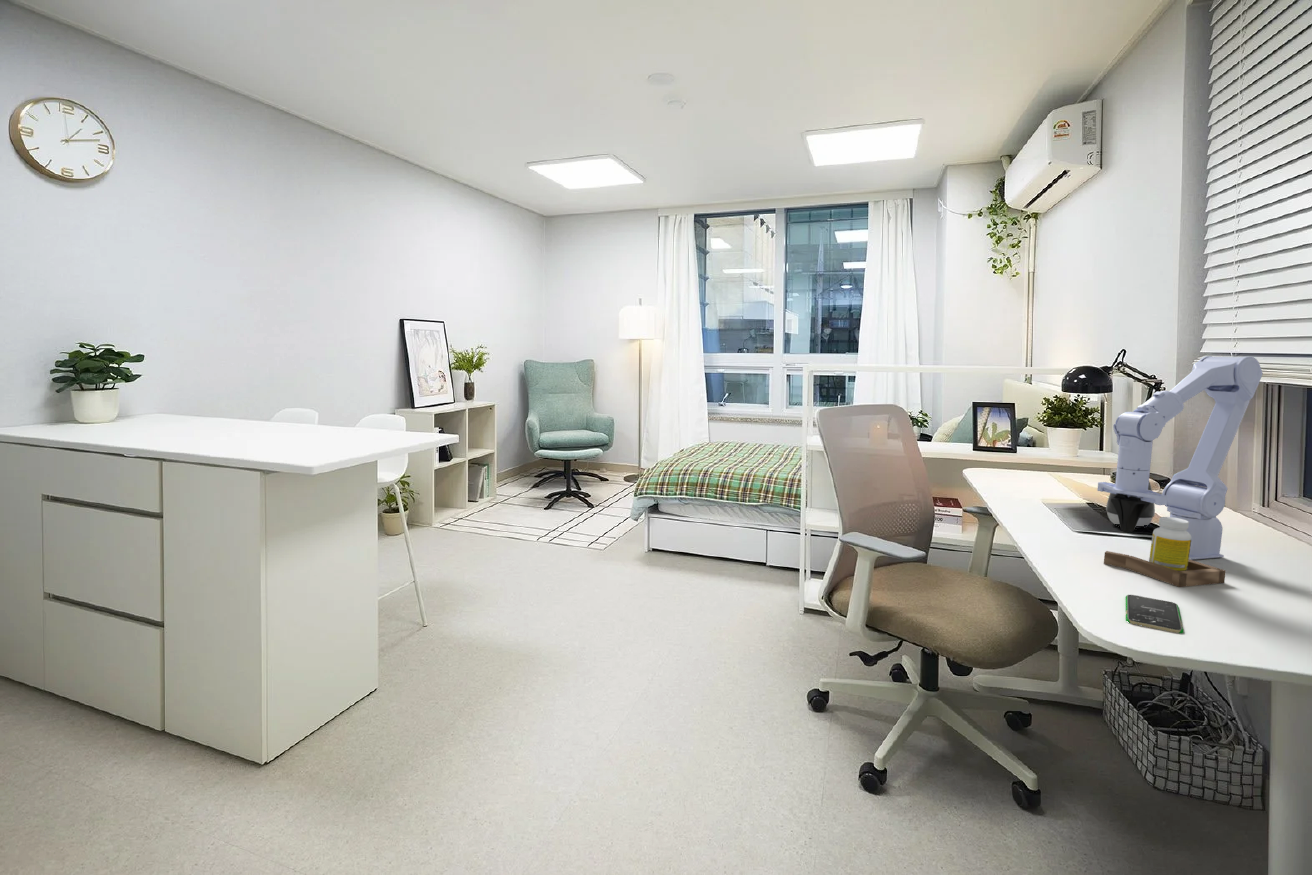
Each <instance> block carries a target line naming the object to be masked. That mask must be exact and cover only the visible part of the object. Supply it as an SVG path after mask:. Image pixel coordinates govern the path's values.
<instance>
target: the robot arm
mask: <svg viewBox="0 0 1312 875" xmlns="http://www.w3.org/2000/svg"><path fill="white" fill-rule="evenodd" d="M1191 369H1192V370H1191V372H1190V373H1188V374H1187V375H1186V376H1185V377H1184V378H1182V379H1181V380H1180V381H1179V383H1177V384H1176V385H1175V386H1174V387H1172V388H1171V389H1170V390H1161V391H1155V392H1154V393H1153V395H1152V396H1151V397H1150V398H1149V399H1148V400H1146V401H1145V402H1144V403H1142V404H1139V405H1138V406H1137V407H1136V408H1135V409H1134V410H1133V411H1125V412H1123V413H1122V414H1120V415H1118V417H1117V418H1116V419H1115V423H1113V424H1112V425H1113V432H1114V434H1115V435H1116V443H1117V445H1118V453H1117V454H1118V455H1117V465H1116V473H1115V481H1116V484H1114V483H1112V482H1108V481H1107V482H1106V481H1103V482H1102V481H1101V482H1097V490H1096V491H1097V492H1101V493H1102V492H1103V493H1108V494H1110V493H1112V494H1116V496H1115V497H1111V502H1112V503H1113V505H1114V507H1115V509H1116V512H1117V515H1118V518H1119V523H1120V530H1121V531H1123V532H1129V533H1130V532H1134V531H1135V530H1136V529H1135V527H1136V524H1137V522H1138V520H1139V518H1140V516H1141V515H1142V513H1143V512H1144V510H1145V509H1146V508H1147V507H1148V506H1149V505H1150V502H1151V503H1154V504H1155V506H1165V507H1167V509H1166V511H1167V512H1168V513H1169V517H1173V518H1179V519H1183V520H1186V521H1188V522H1189V525H1188V529H1186V531H1187V532H1188V533H1189V534H1190V535H1191V546H1190V553H1189V559H1190V560H1193V561H1194V560H1205V559H1206V560H1207V559H1216V558H1224V554H1221V546H1222V536H1223V525H1222V522H1221V521H1220V519H1219V518H1217V516H1219V515H1220V514H1221V513H1222V512H1223V510H1224V508H1225V506H1226V494H1227V491H1229V490H1228V489H1229V488H1228V486H1227V485H1226V484H1225V483H1224V482H1223V480H1221V478H1220V477H1219V475H1220V473H1221V470H1222V468H1223V465H1224V463H1225V461H1226V459H1227V456H1228V453H1229V451H1230V449H1231V446H1232V444H1233V442H1234V440H1235V437H1236V435H1237V433H1238V430H1239V428H1240V426H1241V423H1242V422H1243V419H1244V416H1245V415H1246V411H1247V409H1248V406H1249V404H1250V402H1251V399H1253V398H1254V396H1255V393H1256V391H1257V388H1258V387H1259V385H1260V383H1261V382H1260V381H1261V380H1262V378H1263V375H1264V373H1263V370H1262V367H1261V364H1260V362H1259V361H1258V359H1257V358H1256V357H1255V356H1212V355H1211V356H1210V355H1206V356H1203V357H1201V358H1200V359H1199V360H1198V361H1197V362H1195V363H1193V365H1192V368H1191ZM1202 392H1205V393H1206V394H1207V396H1209V397H1210V398H1213V400H1214V402H1215V403H1214V406H1213V409H1212V410H1211V413H1210V415H1209V418H1208V420H1207V423H1206V424H1205V426H1204V428H1203V432H1202V434H1201V436H1200V439H1199V441H1198V444H1197V446H1196V448H1195V450H1194V453H1193V456H1192V458H1191V460H1190V462H1189V464H1188V467H1187V468H1185V469H1183V470H1180V471H1178V472H1177V473H1174V474H1173V475H1172V477H1171V480H1170V482H1169V483H1167V484H1166V486H1165V487H1164V488H1163V490H1162V493H1159V492H1157V491H1153V490H1152V491H1151V490H1148V484H1149V482H1150V473H1151V463H1152V453H1153V442H1154V440H1156V439H1158V438H1159V437H1160V435H1161V434H1162V431H1163V428H1165V427H1166V425H1167V423H1169V421H1171V420H1172V419H1173V418H1175V417H1177V416H1178V415H1179V414H1180V413H1182V412H1183V410H1184V408H1185V405H1184V403H1186V402H1187V401H1189V400H1190V399H1192V398H1194V397H1195V396H1197V395H1198V394H1200V393H1202ZM1142 497H1143V498H1142Z"/></svg>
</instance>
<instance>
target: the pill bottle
mask: <svg viewBox="0 0 1312 875" xmlns="http://www.w3.org/2000/svg"><path fill="white" fill-rule="evenodd" d="M1158 525H1159V527H1158V526H1157V528H1154V529H1153V531H1152V537H1151V542H1150V544H1151V545H1150V552H1149V560H1148V561H1149V562H1152V563H1155V564H1158V565H1161V566H1164V567H1167V568H1171V569H1174V570H1177V571H1187V567H1188V560H1189V553H1190V546H1191V535H1190V534H1189V533H1188V532H1187V531H1186V529H1188V525H1189V522H1188V521H1186V520H1183V519H1179V518H1173V517H1170V516H1161V517H1159V520H1158Z"/></svg>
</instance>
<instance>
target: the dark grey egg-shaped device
mask: <svg viewBox="0 0 1312 875" xmlns="http://www.w3.org/2000/svg"><path fill="white" fill-rule="evenodd" d="M1113 484H1116V480H1115V481H1114V483H1113ZM1152 488H1153V487H1152V485H1151V482H1150V481H1149V484H1148V490H1151V491H1153V489H1152ZM1115 496H1116V494H1112V493H1109V495H1108V499H1107V502H1106V507H1105V511H1106V513H1107V517H1108V519H1109V521H1110V522H1111V523H1112V524H1114V525H1115V524H1120V523H1119V518H1118V515H1117V512H1116V509H1115V507H1114V505H1113V503H1112V502H1111V497H1115ZM1142 498H1143V497H1142ZM1155 515H1156V504H1155V503H1151V502H1150V505H1149V506H1148V507H1147V508H1146V509H1145V510H1144V512H1143V513H1142V515H1141V516H1140V518H1139V520H1138V522H1137V524H1136V526H1144V525H1147V526H1148V525H1149V524H1151V522H1152V520H1153V519H1154V517H1155Z"/></svg>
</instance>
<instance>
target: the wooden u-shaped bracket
mask: <svg viewBox="0 0 1312 875" xmlns="http://www.w3.org/2000/svg"><path fill="white" fill-rule="evenodd" d="M1103 558H1104V559H1103V564H1104V565H1107V566H1112V567H1117V568H1123V569H1126V570H1129V571H1132V572H1135V573H1137V574H1141V575H1143V576H1147V577H1149V578H1153V579H1156V580H1159V581H1160V582H1165V583H1167V584H1169V585H1173V586H1175V587H1178V588H1183V587H1194V586H1195V587H1196V586H1204V585H1206V586H1207V585H1216V584H1218V585H1219V584H1225V581H1226V573H1227V572H1226V571H1227V570H1225V569H1222V568H1218V567H1215V566H1212V565H1209V564H1205V563H1202V562H1200V561H1196V560H1194V559H1193V560H1190V559H1189V560H1188V567H1187V571H1177V570H1174V569H1171V568H1167V567H1164V566H1161V565H1158V564H1155V563H1152V562H1149V560H1146V559H1144V558H1143V559H1142V558H1139V557H1136V556H1134V555H1129V554H1124V553H1120V552H1115V551H1109V550H1106V551H1105V552H1104V557H1103Z"/></svg>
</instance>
